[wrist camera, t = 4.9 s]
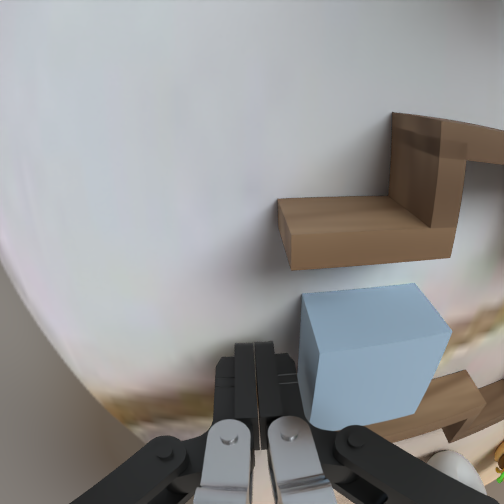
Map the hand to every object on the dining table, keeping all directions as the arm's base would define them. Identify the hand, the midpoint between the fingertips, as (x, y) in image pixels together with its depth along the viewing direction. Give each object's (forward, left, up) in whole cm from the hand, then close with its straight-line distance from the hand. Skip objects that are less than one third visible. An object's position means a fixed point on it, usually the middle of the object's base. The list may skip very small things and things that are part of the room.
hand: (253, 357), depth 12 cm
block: (0, +5, -1) cm, 5 cm away
